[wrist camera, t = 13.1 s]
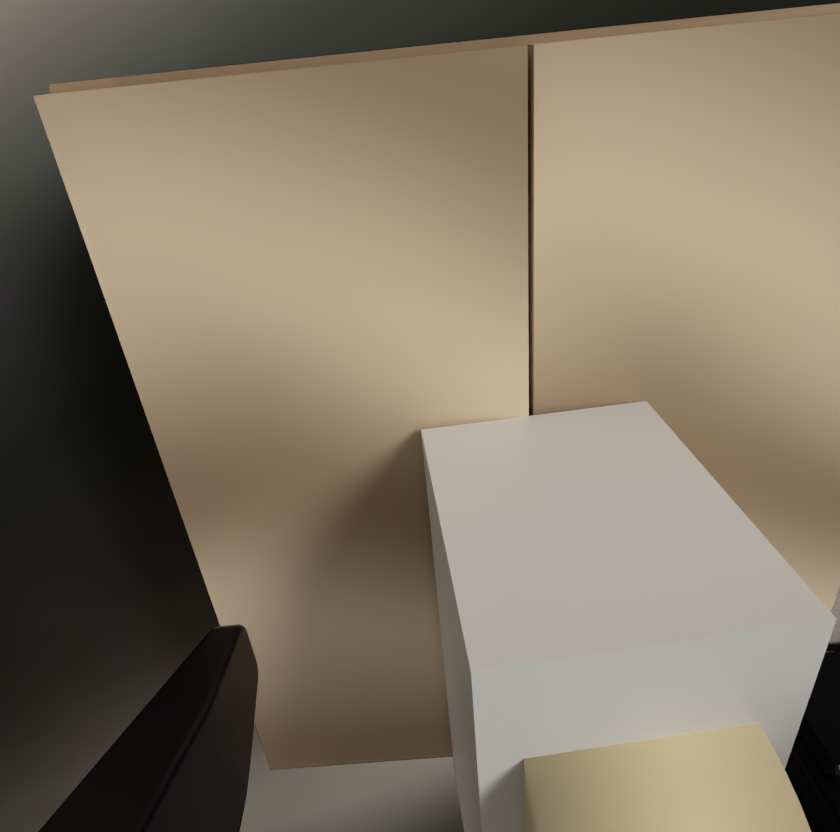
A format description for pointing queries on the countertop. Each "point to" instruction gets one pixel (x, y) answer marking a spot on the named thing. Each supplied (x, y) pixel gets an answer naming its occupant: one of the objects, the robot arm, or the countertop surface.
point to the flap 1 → (315, 350)
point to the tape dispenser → (613, 631)
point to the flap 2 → (699, 255)
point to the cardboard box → (445, 48)
